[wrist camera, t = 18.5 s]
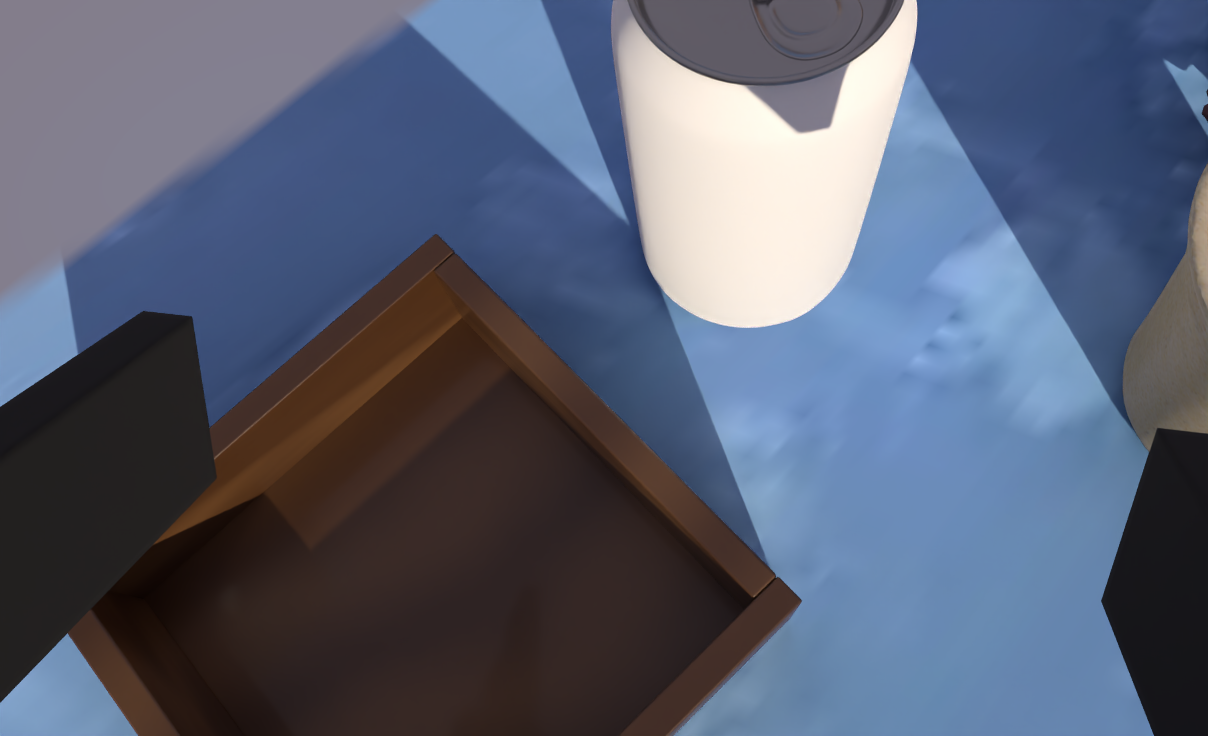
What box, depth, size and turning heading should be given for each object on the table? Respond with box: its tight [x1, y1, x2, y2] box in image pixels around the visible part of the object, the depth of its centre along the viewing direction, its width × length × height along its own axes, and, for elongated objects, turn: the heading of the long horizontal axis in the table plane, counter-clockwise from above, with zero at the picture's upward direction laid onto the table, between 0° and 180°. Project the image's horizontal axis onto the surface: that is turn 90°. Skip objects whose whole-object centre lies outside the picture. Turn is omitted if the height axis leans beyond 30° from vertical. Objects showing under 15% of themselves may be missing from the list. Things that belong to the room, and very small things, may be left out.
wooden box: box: [68, 234, 802, 736], centre depth 27 cm, size 14×14×4 cm
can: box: [611, 0, 917, 328], centre depth 26 cm, size 6×6×12 cm
